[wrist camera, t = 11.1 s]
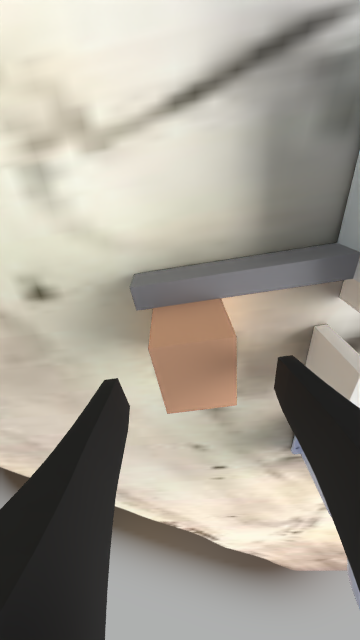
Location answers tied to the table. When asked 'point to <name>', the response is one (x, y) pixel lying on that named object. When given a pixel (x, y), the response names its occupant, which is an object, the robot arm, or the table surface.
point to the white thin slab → (337, 352)
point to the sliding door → (258, 268)
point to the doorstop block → (194, 356)
